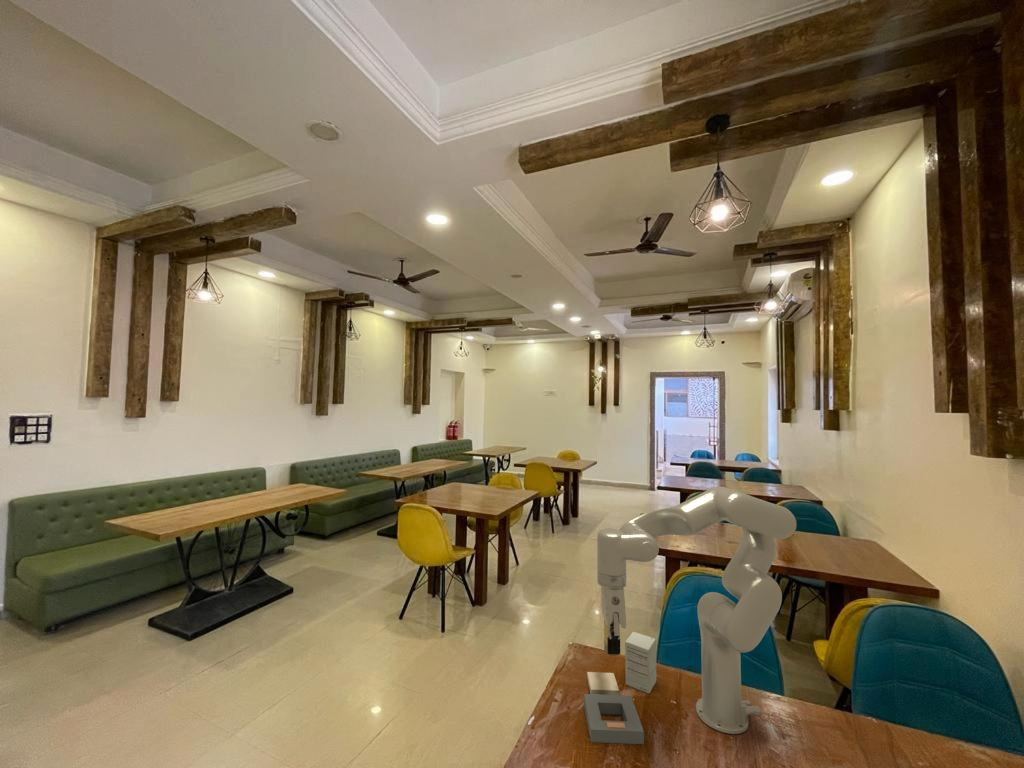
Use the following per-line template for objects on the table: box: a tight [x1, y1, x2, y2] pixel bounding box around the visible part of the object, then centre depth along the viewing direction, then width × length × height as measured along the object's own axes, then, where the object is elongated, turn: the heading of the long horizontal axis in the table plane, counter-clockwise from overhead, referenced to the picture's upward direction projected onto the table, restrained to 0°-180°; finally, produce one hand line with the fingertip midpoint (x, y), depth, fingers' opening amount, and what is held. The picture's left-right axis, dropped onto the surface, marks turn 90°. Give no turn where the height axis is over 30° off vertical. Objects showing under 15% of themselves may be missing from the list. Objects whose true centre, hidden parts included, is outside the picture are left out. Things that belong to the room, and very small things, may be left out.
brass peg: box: [603, 619, 620, 657], centre depth 111 cm, size 4×4×8 cm
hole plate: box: [583, 693, 645, 745], centre depth 110 cm, size 13×13×3 cm
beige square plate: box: [586, 671, 620, 695], centre depth 124 cm, size 8×8×2 cm
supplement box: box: [624, 631, 657, 694], centre depth 127 cm, size 7×7×13 cm
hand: (612, 647), depth 111 cm, fingers closed on brass peg, 4 cm apart
